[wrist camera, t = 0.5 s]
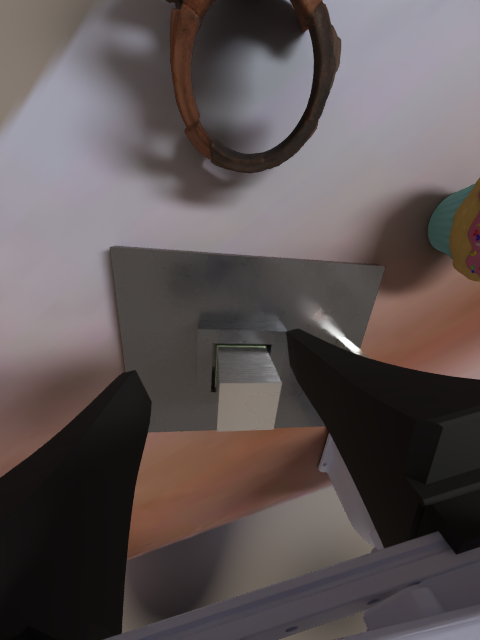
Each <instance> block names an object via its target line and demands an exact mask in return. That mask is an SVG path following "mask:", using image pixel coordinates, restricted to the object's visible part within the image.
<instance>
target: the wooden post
mask: <svg viewBox="0 0 480 640" xmlns="http://www.w3.org/2000/svg"><path fill="white" fill-rule="evenodd" d="M281 385H282V382H281V380H280V378H279V375H278V373H277V371H276V369H275V366H274V364H273V362H272V360H271V358H270V355H269V353H268V351H267V349H266V345H265V344H222V343H217V348H216V369H215V387H216V418H217V431H244V430H272V429H274V424H275V419H276V413H277V408H278V402H279V396H280V391H281Z"/></svg>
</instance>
